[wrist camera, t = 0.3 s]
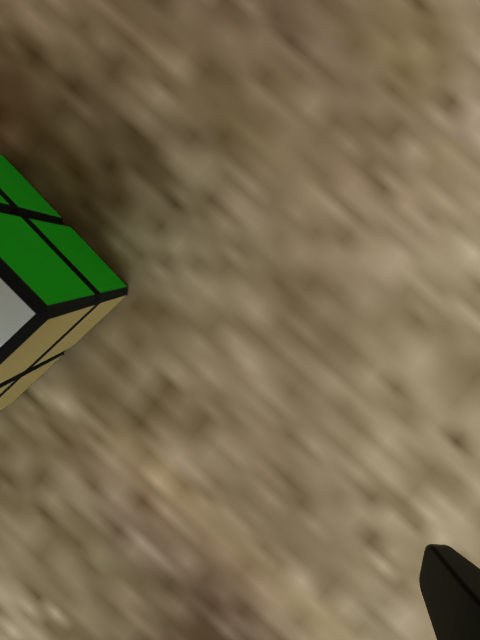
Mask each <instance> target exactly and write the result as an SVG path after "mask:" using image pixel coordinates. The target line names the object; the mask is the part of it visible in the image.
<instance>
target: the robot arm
mask: <svg viewBox="0 0 480 640" xmlns="http://www.w3.org/2000/svg"><path fill="white" fill-rule="evenodd" d="M419 582H420V588H421V592H422V595H423V598H424V601H425V604H426V607H427V610H428V613H429V616H430V619H431V623H432V626H433V629H434V632H435V635H436V638H437V640H480V569H479V568H478V567H477V566H475V565H474V564H473V563H471V562H470V561H469V560H467V559H466V558H464V557H463V556H462V555H460V554H459V553H458V552H456V551H455V550H454V549H452V548H451V547H449V546H447V545H438V544H429V545H427V546H426V548H425V551H424V556H423V561H422V566H421V571H420V577H419Z"/></svg>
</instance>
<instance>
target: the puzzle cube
mask: <svg viewBox="0 0 480 640" xmlns="http://www.w3.org/2000/svg"><path fill="white" fill-rule="evenodd" d="M127 293H128V287H127V286H126V285H125V284H124V283H123V282H122V280H121V279H120V278H119V277H118V276H117V275H116V274H115V273H114V272H113V271H112V270H111V269H110V268H109V267H108V266H107V265H106V264H105V262H104V261H103V260H102V259H101V258H100V257H99V256H98V255H97V254H96V253H95V252H94V251H93V250H92V249H91V248H90V247H89V246H88V244H87V243H86V242H85V241H84V240H83V239H82V238H81V237H80V236H79V235H78V234H77V233H76V232H75V231H74V230H73V229H72V228H71V227H69V226H64V225H62V217H61V216H60V215H59V214H58V213H57V212H56V211H55V210H54V209H53V208H52V207H51V206H50V205H49V204H48V203H47V202H46V200H45V199H44V198H43V197H42V196H41V195H40V194H39V193H38V192H37V191H36V190H35V189H34V188H33V187H32V186H31V185H30V184H29V182H28V181H27V180H26V179H25V178H24V177H23V176H22V175H21V174H20V173H19V172H18V171H17V170H16V169H15V168H14V167H13V166H12V164H11V163H10V162H9V161H8V160H7V159H6V158H5V157H4V156H3V155H1V154H0V411H1V410H2V409H4V408H5V407H7V406H9V405H10V404H11V403H13V402H14V401H15V400H16V399H17V398H18V397H19V396H20V395H21V394H22V393H23V392H24V391H25V390H26V389H28V388H29V387H30V386H31V385H32V384H33V383H34V382H35V381H36V380H37V379H38V378H39V377H40V376H41V375H42V374H44V373H45V372H46V371H47V370H48V369H49V368H50V367H51V366H52V365H53V364H54V363H55V362H56V361H57V360H58V359H60V358H61V357H62V356H63V355H64V351H65V350H67V349H69V348H71V347H72V346H74V345H75V344H76V343H77V342H78V341H79V340H80V339H81V338H82V337H83V336H84V335H85V334H86V333H87V332H88V331H90V330H91V329H92V328H93V327H94V326H95V325H96V324H97V323H98V322H99V321H100V320H101V319H102V318H103V317H104V316H106V315H107V314H108V313H109V312H110V311H111V310H112V309H113V308H114V307H115V306H116V305H117V304H118V303H119V302H120V301H122V300H123V299H124V298H125V297H126V296H127Z"/></svg>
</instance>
